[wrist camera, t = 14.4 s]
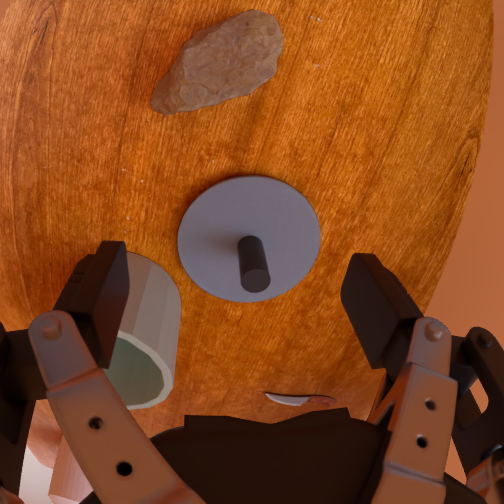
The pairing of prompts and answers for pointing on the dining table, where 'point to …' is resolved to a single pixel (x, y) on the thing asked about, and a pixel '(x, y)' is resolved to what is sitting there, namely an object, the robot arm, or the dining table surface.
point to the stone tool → (221, 63)
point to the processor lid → (248, 238)
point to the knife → (302, 400)
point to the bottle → (68, 478)
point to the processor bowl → (146, 336)
